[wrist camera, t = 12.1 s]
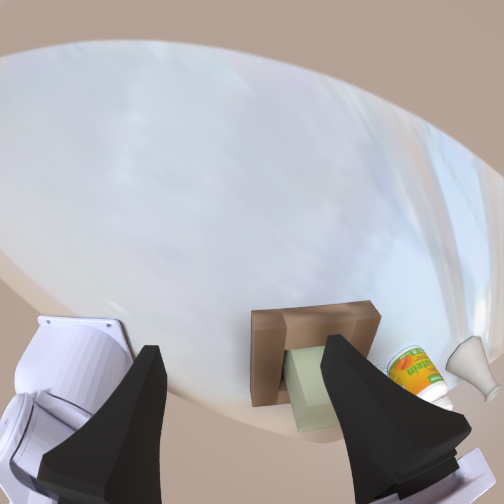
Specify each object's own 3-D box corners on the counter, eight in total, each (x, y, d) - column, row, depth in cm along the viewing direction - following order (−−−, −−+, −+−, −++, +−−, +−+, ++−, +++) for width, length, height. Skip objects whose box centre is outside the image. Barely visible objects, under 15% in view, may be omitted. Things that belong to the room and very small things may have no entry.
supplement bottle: (424, 338, 29) (464, 393, 20) (417, 364, 31) (450, 416, 23) (388, 354, 29) (425, 417, 20) (384, 379, 31) (413, 436, 23)
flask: (484, 330, 32) (518, 369, 23) (466, 362, 35) (494, 401, 26) (457, 340, 31) (493, 386, 22) (438, 373, 34) (467, 418, 25)
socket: (249, 388, 28) (252, 407, 26) (251, 310, 23) (255, 330, 21) (344, 376, 29) (351, 392, 27) (369, 300, 24) (381, 316, 22)
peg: (281, 366, 27) (298, 432, 20) (285, 334, 25) (307, 406, 18) (323, 361, 28) (347, 423, 20) (331, 330, 26) (362, 394, 18)
